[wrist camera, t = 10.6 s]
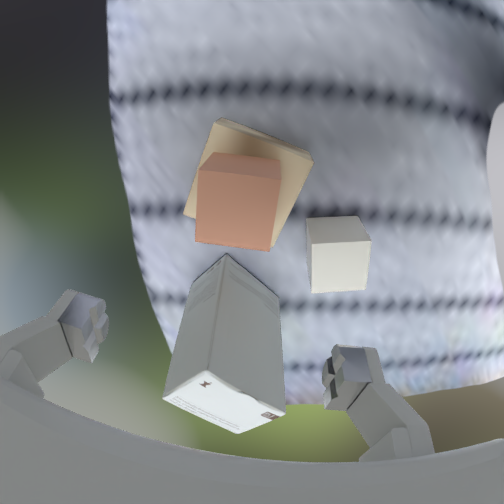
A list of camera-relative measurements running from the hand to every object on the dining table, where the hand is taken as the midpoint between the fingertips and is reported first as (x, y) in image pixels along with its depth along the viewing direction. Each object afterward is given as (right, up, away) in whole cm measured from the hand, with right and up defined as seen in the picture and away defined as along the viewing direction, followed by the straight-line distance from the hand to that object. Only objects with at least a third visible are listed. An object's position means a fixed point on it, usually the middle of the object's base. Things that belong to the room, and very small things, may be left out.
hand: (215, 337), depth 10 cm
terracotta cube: (+1, +8, +13) cm, 16 cm away
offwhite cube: (+9, +4, +20) cm, 22 cm away
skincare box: (0, -1, +23) cm, 24 cm away
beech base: (+1, +10, +17) cm, 20 cm away
